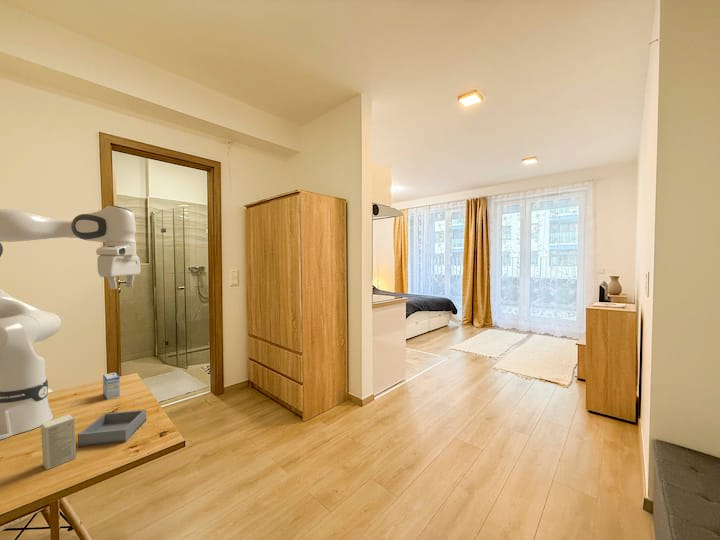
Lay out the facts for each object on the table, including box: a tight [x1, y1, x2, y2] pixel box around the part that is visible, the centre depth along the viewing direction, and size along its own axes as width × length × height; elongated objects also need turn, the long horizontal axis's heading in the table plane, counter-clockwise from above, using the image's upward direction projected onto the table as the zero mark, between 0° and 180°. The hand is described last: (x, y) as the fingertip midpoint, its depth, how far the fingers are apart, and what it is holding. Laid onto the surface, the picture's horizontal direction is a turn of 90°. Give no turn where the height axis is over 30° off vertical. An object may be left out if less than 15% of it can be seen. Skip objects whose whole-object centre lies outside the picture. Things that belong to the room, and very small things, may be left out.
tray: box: [77, 409, 147, 448], centre depth 98 cm, size 13×13×4 cm
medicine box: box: [102, 372, 121, 400], centre depth 126 cm, size 8×4×9 cm, turn 50°
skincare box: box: [40, 413, 77, 471], centre depth 84 cm, size 6×4×12 cm
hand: (121, 288), depth 108 cm, fingers open, 8 cm apart
